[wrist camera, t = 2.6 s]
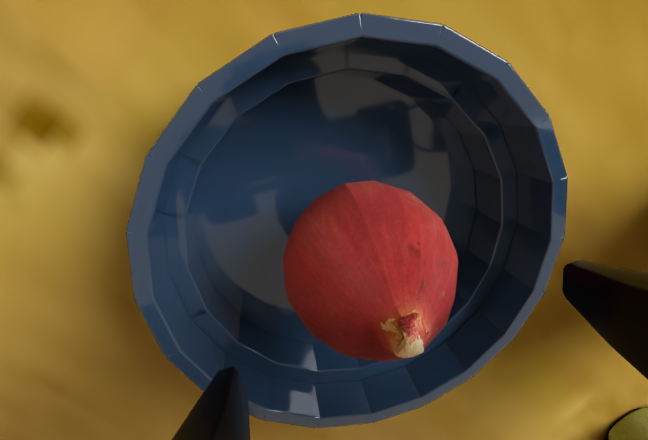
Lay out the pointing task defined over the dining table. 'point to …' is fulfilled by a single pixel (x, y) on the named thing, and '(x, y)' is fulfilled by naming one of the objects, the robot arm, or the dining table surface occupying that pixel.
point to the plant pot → (631, 426)
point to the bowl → (324, 175)
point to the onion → (371, 271)
